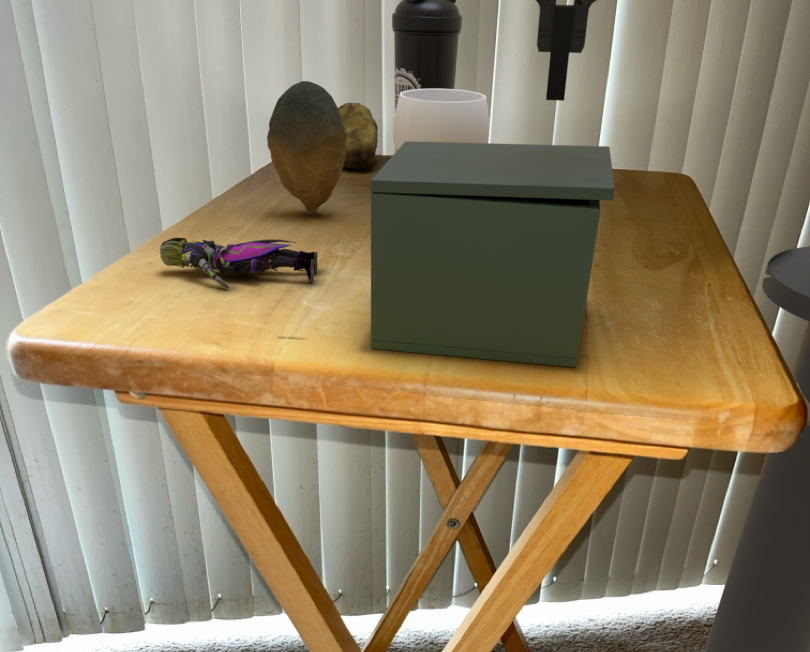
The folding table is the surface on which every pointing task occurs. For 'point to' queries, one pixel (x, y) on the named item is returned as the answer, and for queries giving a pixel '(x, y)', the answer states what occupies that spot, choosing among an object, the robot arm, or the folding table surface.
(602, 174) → the lid
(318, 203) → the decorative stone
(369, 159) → the potato
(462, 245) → the storage box
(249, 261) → the character figure
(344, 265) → the folding table surface
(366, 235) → the folding table surface
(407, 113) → the cup
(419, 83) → the water bottle
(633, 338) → the folding table surface
